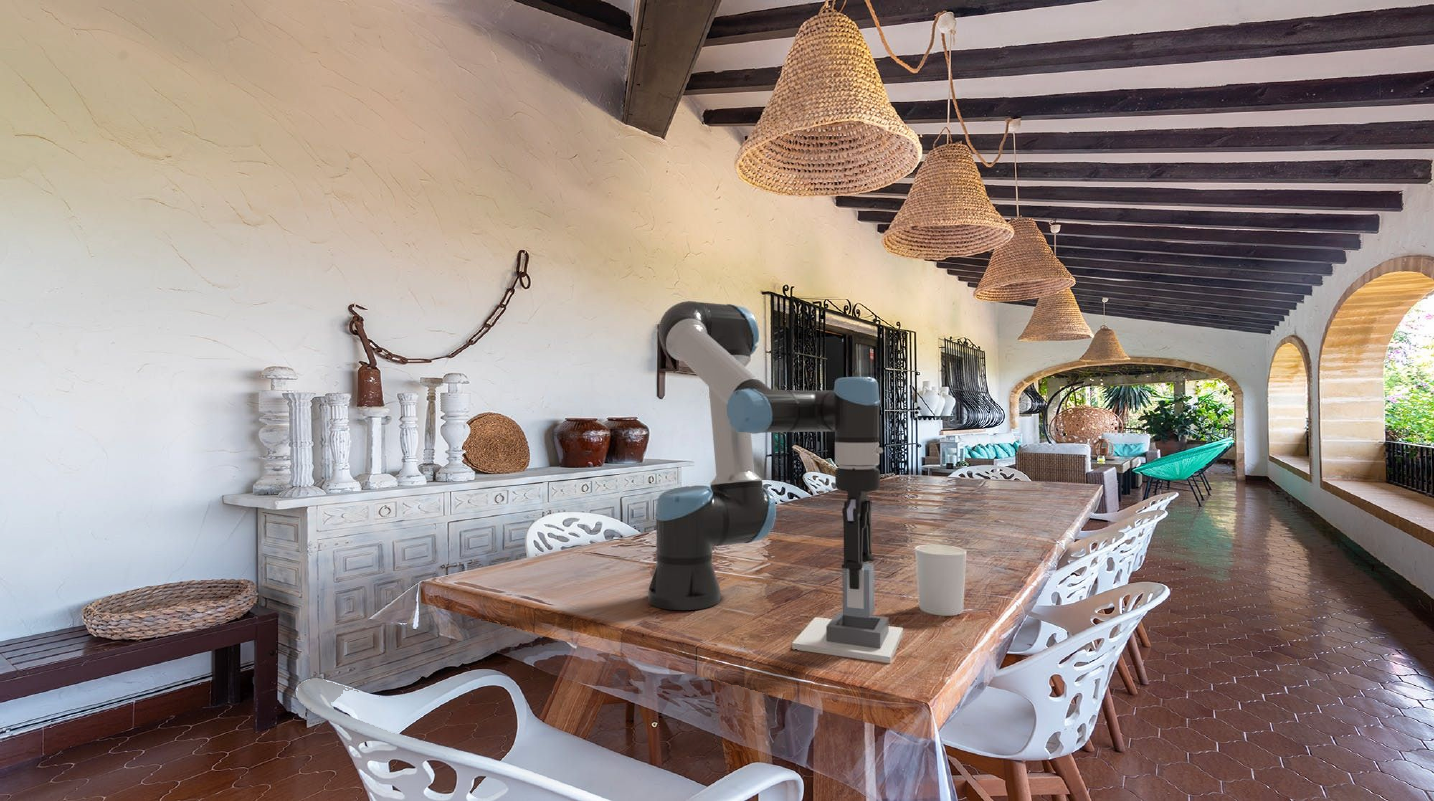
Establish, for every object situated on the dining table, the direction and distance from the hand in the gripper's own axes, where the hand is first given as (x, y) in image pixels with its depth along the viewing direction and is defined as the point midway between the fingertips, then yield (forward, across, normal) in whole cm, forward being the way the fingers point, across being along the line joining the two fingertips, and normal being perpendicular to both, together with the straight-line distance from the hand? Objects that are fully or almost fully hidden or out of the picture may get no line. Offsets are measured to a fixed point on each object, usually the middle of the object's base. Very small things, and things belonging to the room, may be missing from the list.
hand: (858, 602), depth 113 cm
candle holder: (+7, +25, -11) cm, 28 cm away
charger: (+2, 0, 0) cm, 2 cm away
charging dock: (+7, 0, +2) cm, 7 cm away
